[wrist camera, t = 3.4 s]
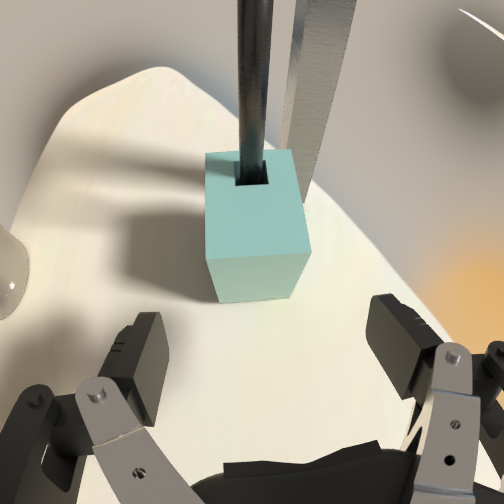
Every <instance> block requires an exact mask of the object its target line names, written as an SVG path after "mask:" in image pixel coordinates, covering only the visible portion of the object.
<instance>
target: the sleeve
mask: <svg viewBox="0 0 504 504" xmlns="http://www.w3.org/2000/svg"><path fill="white" fill-rule="evenodd" d="M310 255H311V246H310V241H309V235H308V230H307V225H306V219H305V214H304V209H303V204H302V199H301V194H300V189H299V184H298V180H297V175H296V170H295V166H294V161H293V157H292V152H291V149H277V150H263V162H262V176H261V185H246V186H240V157H239V151H230V152H215V153H206V159H205V257H206V262H207V266H208V269H209V272H210V275H211V278H212V281H213V284H214V288H215V291H216V294H217V297H218V300H219V303H234V302H248V301H262V300H274V299H286V298H289V297H290V295H291V293H292V291H293V289H294V287H295V285H296V283H297V281H298V279H299V277H300V275H301V273H302V271H303V269H304V267H305V265H306V263H307V261H308V259H309V257H310Z"/></svg>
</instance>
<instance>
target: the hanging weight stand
mask: <svg viewBox="0 0 504 504" xmlns="http://www.w3.org/2000/svg"><path fill="white" fill-rule="evenodd" d="M237 1H238V97H239V98H238V101H239V157H240V186H246V185H261V176H262V162H263V148H264V134H265V120H266V105H267V90H268V76H269V61H270V46H271V30H272V15H273V0H237ZM356 1H357V0H296V8H295V16H294V17H295V18H294V26H293V35H292V43H291V52H290V61H289V70H288V78H287V86H286V95H285V103H284V111H283V119H282V127H281V135H280V143H279V149H291V152H292V157H293V161H294V166H295V170H296V175H297V180H298V184H299V189H300V194H301V199H302V203H304V202H305V198H306V195H307V192H308V188H309V185H310V181H311V178H312V174H313V171H314V167H315V164H316V160H317V157H318V153H319V150H320V146H321V142H322V139H323V135H324V131H325V128H326V124H327V120H328V116H329V112H330V109H331V105H332V102H333V98H334V94H335V90H336V86H337V82H338V78H339V74H340V70H341V66H342V62H343V58H344V54H345V50H346V45H347V41H348V37H349V32H350V28H351V23H352V19H353V15H354V10H355V6H356Z"/></svg>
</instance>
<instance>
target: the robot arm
mask: <svg viewBox="0 0 504 504" xmlns="http://www.w3.org/2000/svg"><path fill="white" fill-rule="evenodd" d="M28 274H29V259H28V254H27V251H26V248H25V247H24V245H23V244H22V243H21V242H20V241H19V240H18V239H16V238H15V237H14V236H13V235H12V234H11V233H9V232H8V231H7V230H6V229H5V228H4V227H3V226H1V225H0V320H2V319H4V318H6V317H7V316H8V315H10V314H11V313H12V312H13V310H14V309H15V308H16V307H17V305H18V303H19V302H20V300H21V298H22V295H23V293H24V291H25V287H26V284H27V280H28ZM366 339H367V342H368V344H369V346H370V348H371V349H372V351H373V353H374V354H375V356H376V357H377V359H378V361H379V362H380V364H381V366H382V367H383V369H384V371H385V372H386V374H387V376H388V377H389V379H390V381H391V382H392V384H393V386H394V387H395V389H396V391H397V392H398V394H399V396H400V398H401V399H402V400H404V399H407V398H411V397H414V398H415V402H414V404H413V407H412V411H411V415H410V419H409V422H408V426H407V429H406V433H405V436H404V439H403V442H402V445H401V448H400V450H396V449H381V448H380V446H379V443H378V441H377V440H374V441H371V442H367V443H363V444H359V445H355V446H351V447H347V448H342V449H340V450H338V451H336V452H334V453H331V454H329V455H327V456H324V457H322V458H320V459H317V460H315V461H312V462H310V463H306V464H296V463H282V462H271V461H252V462H235V463H223V467H224V473H220V474H216V475H213V476H210V477H207V478H205V479H203V480H200V481H199V482H197V483H195V484H193V485H192V486H189V485H188V484H187V483H186V481H185V480H184V479H183V478H182V477H181V475H180V474H179V473H178V472H177V471H176V469H175V468H174V467H173V465H172V464H171V463H170V462H169V460H168V459H167V458H166V456H165V455H164V454H163V452H162V451H161V450H160V448H159V447H158V446H157V444H156V443H155V441H154V440H153V439H152V437H151V436H150V434H149V433H148V431H147V430H146V429H145V427H144V426H148V427H154V425H155V420H156V415H157V411H158V406H159V401H160V397H161V392H162V388H163V383H164V379H165V375H166V370H167V366H168V362H169V347H168V342H167V338H166V334H165V330H164V326H163V321H162V317H161V314H160V313H159V312H140V313H139V314H138V316H137V318H136V320H135V322H134V324H133V325H127V326H126V327H125V328H124V329H123V330H122V331H120V332H119V333H118V335H117V337H116V339H115V341H114V344H113V345H112V347H111V349H110V352H109V353H108V355H107V357H106V359H105V361H104V363H103V365H102V368H101V370H100V372H99V374H98V376H97V377H94V378H91V379H88V380H86V381H85V382H83V383H82V384H81V385H80V386H79V387H78V389H77V391H76V394H69V395H62V396H54V394H53V392H52V391H51V389H50V388H49V387H48V386H46V385H41V384H38V385H33V386H30V387H28V388H27V389H25V390H24V391H23V392H22V393H21V395H20V396H19V398H18V400H17V402H16V403H15V405H14V407H13V409H12V411H11V413H10V415H9V417H8V419H7V421H6V423H5V425H4V427H3V429H2V431H1V433H0V504H76V503H77V497H78V493H79V488H80V483H81V479H82V474H83V470H84V466H85V462H86V458H87V455H94V454H95V456H96V458H97V461H98V463H99V465H100V467H101V469H102V471H103V473H104V475H105V477H106V478H107V480H108V482H109V484H110V486H111V488H112V489H113V491H114V493H115V495H116V497H117V498H118V500H119V502H120V503H121V504H504V410H503V409H502V407H501V406H500V404H499V403H498V401H497V400H496V398H497V396H498V395H499V393H500V391H501V390H503V391H504V342H502V341H493V342H491V343H490V344H489V346H488V348H487V351H486V353H485V354H470V352H469V351H468V350H467V349H466V348H465V347H464V346H462V345H460V344H457V343H452V342H447V343H444V341H443V340H442V339H441V338H440V337H439V336H438V335H437V334H436V333H435V332H434V331H433V329H432V328H431V327H430V326H429V325H428V324H426V322H425V321H424V320H423V319H422V318H421V317H420V316H419V315H418V313H417V312H416V311H415V310H414V309H412V308H410V307H408V306H406V305H405V304H401V303H400V302H399V301H398V299H397V298H396V297H395V296H394V295H393V294H391V293H389V294H382V295H375V296H373V297H372V299H371V302H370V308H369V314H368V320H367V325H366ZM479 440H480V441H481V443H482V445H483V447H484V449H485V450H486V452H487V454H488V456H489V458H490V460H491V462H492V463H493V465H494V467H495V469H496V471H497V473H498V475H499V477H500V479H501V488H500V489H499V490H498V491H497V490H494V489H492V488H489V487H486V486H484V485H481V484H479V483H476V482H474V476H475V470H476V462H477V454H478V444H479ZM46 445H48V447H47V450H46V453H45V456H44V459H43V462H42V465H41V460H42V457H43V454H44V451H45V448H46Z"/></svg>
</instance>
